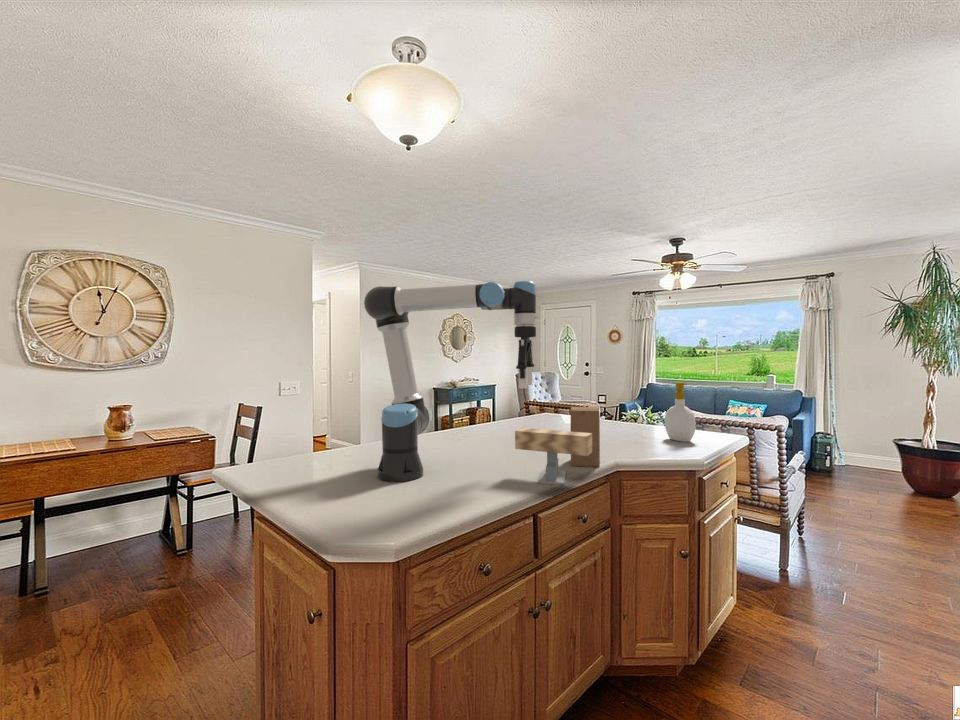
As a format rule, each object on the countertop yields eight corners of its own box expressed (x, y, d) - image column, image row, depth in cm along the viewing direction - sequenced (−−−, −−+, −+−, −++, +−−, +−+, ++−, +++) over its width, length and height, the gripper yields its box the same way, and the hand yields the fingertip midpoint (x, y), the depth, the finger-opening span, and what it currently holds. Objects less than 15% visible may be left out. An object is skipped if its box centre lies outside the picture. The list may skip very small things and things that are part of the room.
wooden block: (599, 467, 161) (599, 410, 160) (570, 466, 163) (570, 410, 162) (598, 460, 171) (598, 407, 170) (571, 459, 173) (570, 406, 172)
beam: (515, 448, 151) (515, 430, 151) (522, 445, 157) (521, 427, 157) (587, 456, 140) (587, 436, 140) (592, 451, 146) (592, 433, 146)
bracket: (537, 483, 143) (537, 454, 143) (542, 471, 157) (542, 445, 156) (563, 484, 141) (563, 455, 141) (566, 472, 155) (565, 446, 155)
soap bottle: (701, 441, 201) (701, 382, 200) (689, 444, 196) (689, 383, 196) (672, 436, 213) (672, 380, 213) (660, 438, 209) (660, 381, 208)
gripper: (531, 324, 148) (531, 389, 148) (539, 327, 172) (540, 383, 172) (508, 324, 149) (509, 389, 150) (520, 327, 174) (520, 383, 174)
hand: (525, 386), depth 161 cm, fingers open, 13 cm apart
